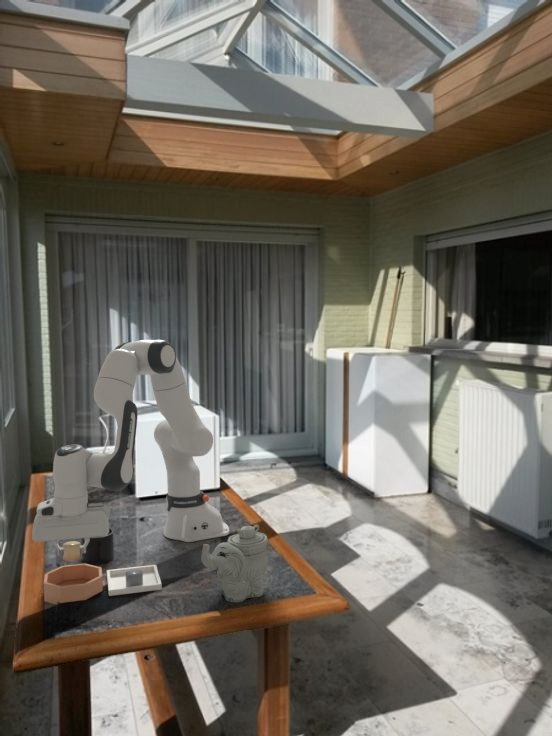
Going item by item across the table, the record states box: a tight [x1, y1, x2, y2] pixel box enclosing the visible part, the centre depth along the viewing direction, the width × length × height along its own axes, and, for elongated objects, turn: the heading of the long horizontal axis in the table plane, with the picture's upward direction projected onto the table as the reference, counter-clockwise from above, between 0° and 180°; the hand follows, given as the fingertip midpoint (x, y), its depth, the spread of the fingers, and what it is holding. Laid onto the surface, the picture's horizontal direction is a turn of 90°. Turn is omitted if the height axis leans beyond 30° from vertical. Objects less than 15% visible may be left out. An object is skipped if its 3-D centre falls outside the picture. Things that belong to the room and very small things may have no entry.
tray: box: [106, 564, 163, 597], centre depth 182 cm, size 14×14×2 cm
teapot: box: [200, 524, 269, 603], centre depth 175 cm, size 16×15×19 cm
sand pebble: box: [62, 540, 82, 562], centre depth 179 cm, size 5×5×4 cm
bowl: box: [43, 563, 104, 606], centre depth 177 cm, size 15×15×5 cm
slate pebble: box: [126, 569, 143, 587], centre depth 179 cm, size 5×5×4 cm
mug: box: [81, 527, 115, 565], centre depth 198 cm, size 9×12×9 cm
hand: (71, 553), depth 179 cm, fingers closed on sand pebble, 5 cm apart
